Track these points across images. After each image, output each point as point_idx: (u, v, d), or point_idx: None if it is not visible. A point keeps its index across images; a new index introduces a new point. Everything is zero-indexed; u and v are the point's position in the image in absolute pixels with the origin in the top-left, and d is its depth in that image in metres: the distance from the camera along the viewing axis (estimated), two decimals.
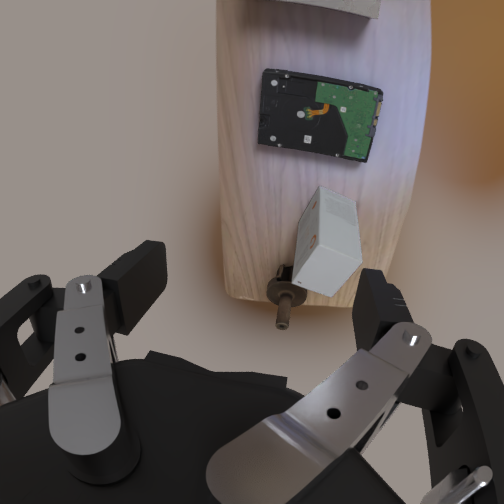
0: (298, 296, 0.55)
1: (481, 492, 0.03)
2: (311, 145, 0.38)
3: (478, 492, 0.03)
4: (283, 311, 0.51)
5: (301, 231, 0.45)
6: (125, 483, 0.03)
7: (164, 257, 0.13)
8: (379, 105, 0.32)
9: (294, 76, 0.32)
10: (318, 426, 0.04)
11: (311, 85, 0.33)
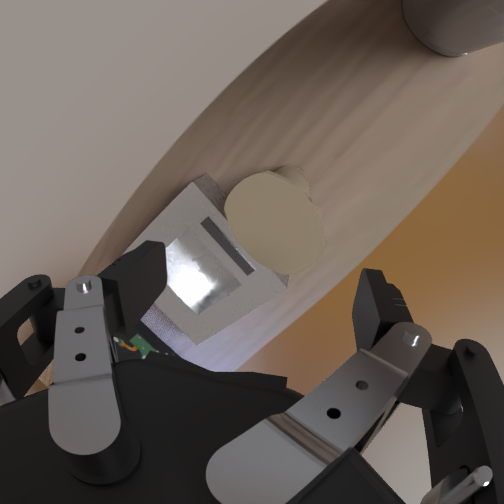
0: None
1: (481, 492, 0.03)
2: None
3: (478, 492, 0.03)
4: None
5: None
6: (125, 483, 0.03)
7: (164, 257, 0.13)
8: None
9: None
10: (318, 426, 0.04)
11: (132, 331, 0.42)
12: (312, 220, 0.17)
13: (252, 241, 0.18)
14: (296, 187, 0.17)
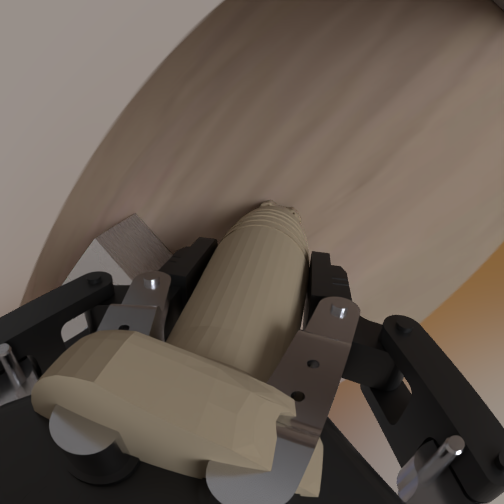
0: None
1: (458, 459, 0.04)
2: None
3: (455, 460, 0.04)
4: None
5: None
6: (125, 483, 0.03)
7: None
8: None
9: None
10: None
11: None
12: None
13: None
14: (236, 443, 0.03)
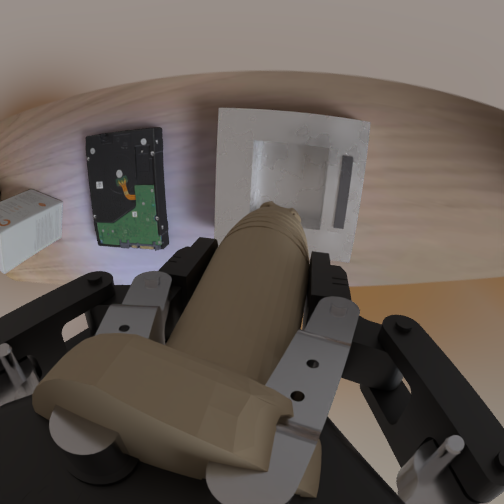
0: None
1: (457, 458, 0.04)
2: (95, 190, 0.35)
3: (455, 460, 0.04)
4: None
5: (19, 199, 0.35)
6: (125, 483, 0.03)
7: None
8: (150, 247, 0.37)
9: (153, 160, 0.33)
10: None
11: (149, 179, 0.34)
12: None
13: None
14: (237, 446, 0.03)
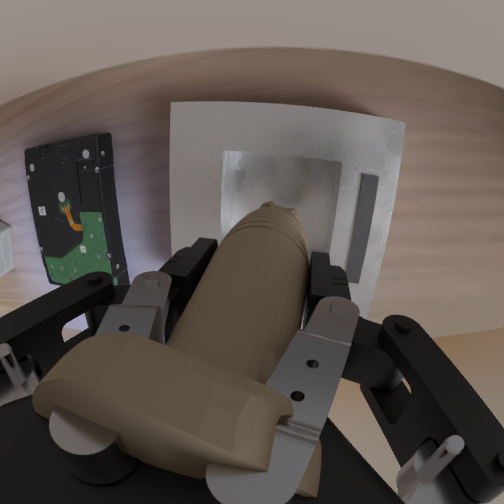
0: None
1: (457, 459, 0.04)
2: (38, 216, 0.25)
3: (455, 460, 0.04)
4: None
5: None
6: (125, 483, 0.03)
7: None
8: None
9: (99, 179, 0.23)
10: None
11: (96, 204, 0.24)
12: None
13: None
14: (237, 446, 0.03)
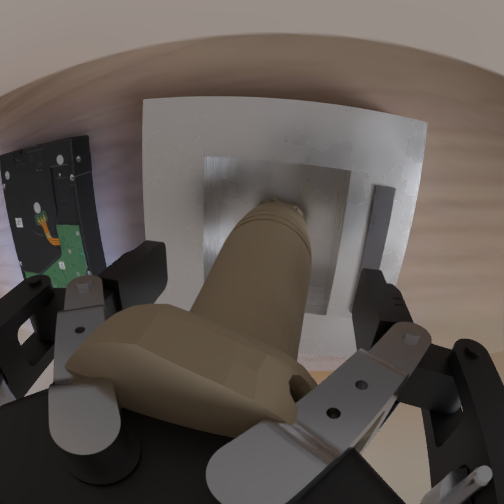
0: None
1: (481, 492, 0.03)
2: (15, 228, 0.22)
3: (478, 492, 0.03)
4: None
5: None
6: (125, 483, 0.03)
7: (164, 257, 0.13)
8: None
9: (74, 188, 0.19)
10: (318, 426, 0.04)
11: (72, 216, 0.21)
12: None
13: None
14: (257, 395, 0.04)
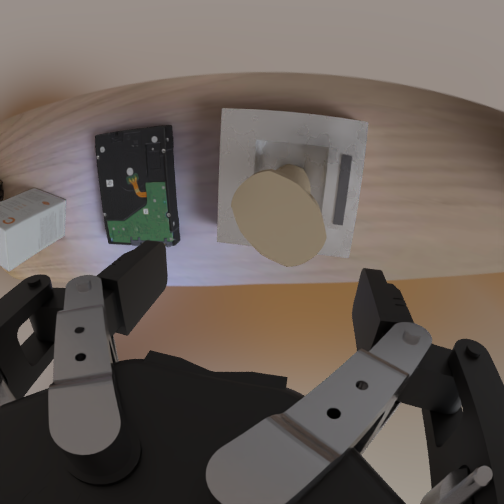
0: None
1: (481, 492, 0.03)
2: (105, 188, 0.36)
3: (478, 492, 0.03)
4: None
5: (23, 197, 0.36)
6: (125, 483, 0.03)
7: (164, 257, 0.13)
8: None
9: (164, 158, 0.33)
10: (318, 426, 0.04)
11: (160, 176, 0.34)
12: (313, 215, 0.19)
13: (257, 235, 0.20)
14: (298, 184, 0.18)
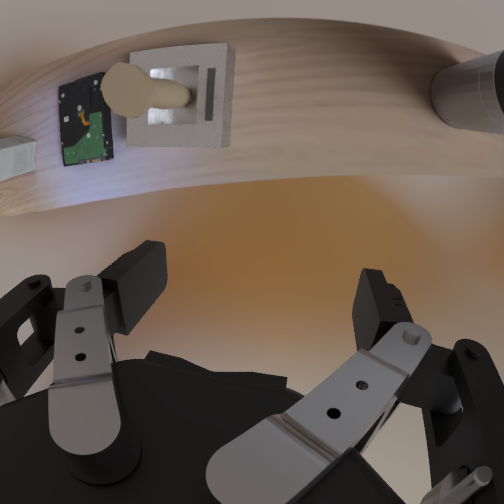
0: None
1: (481, 492, 0.03)
2: (63, 123, 0.42)
3: (478, 492, 0.03)
4: None
5: (5, 139, 0.42)
6: (125, 483, 0.03)
7: (164, 257, 0.13)
8: (98, 160, 0.44)
9: (101, 94, 0.39)
10: (318, 426, 0.04)
11: (98, 107, 0.40)
12: (142, 81, 0.25)
13: (113, 101, 0.26)
14: (134, 66, 0.24)
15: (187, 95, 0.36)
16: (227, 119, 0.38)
